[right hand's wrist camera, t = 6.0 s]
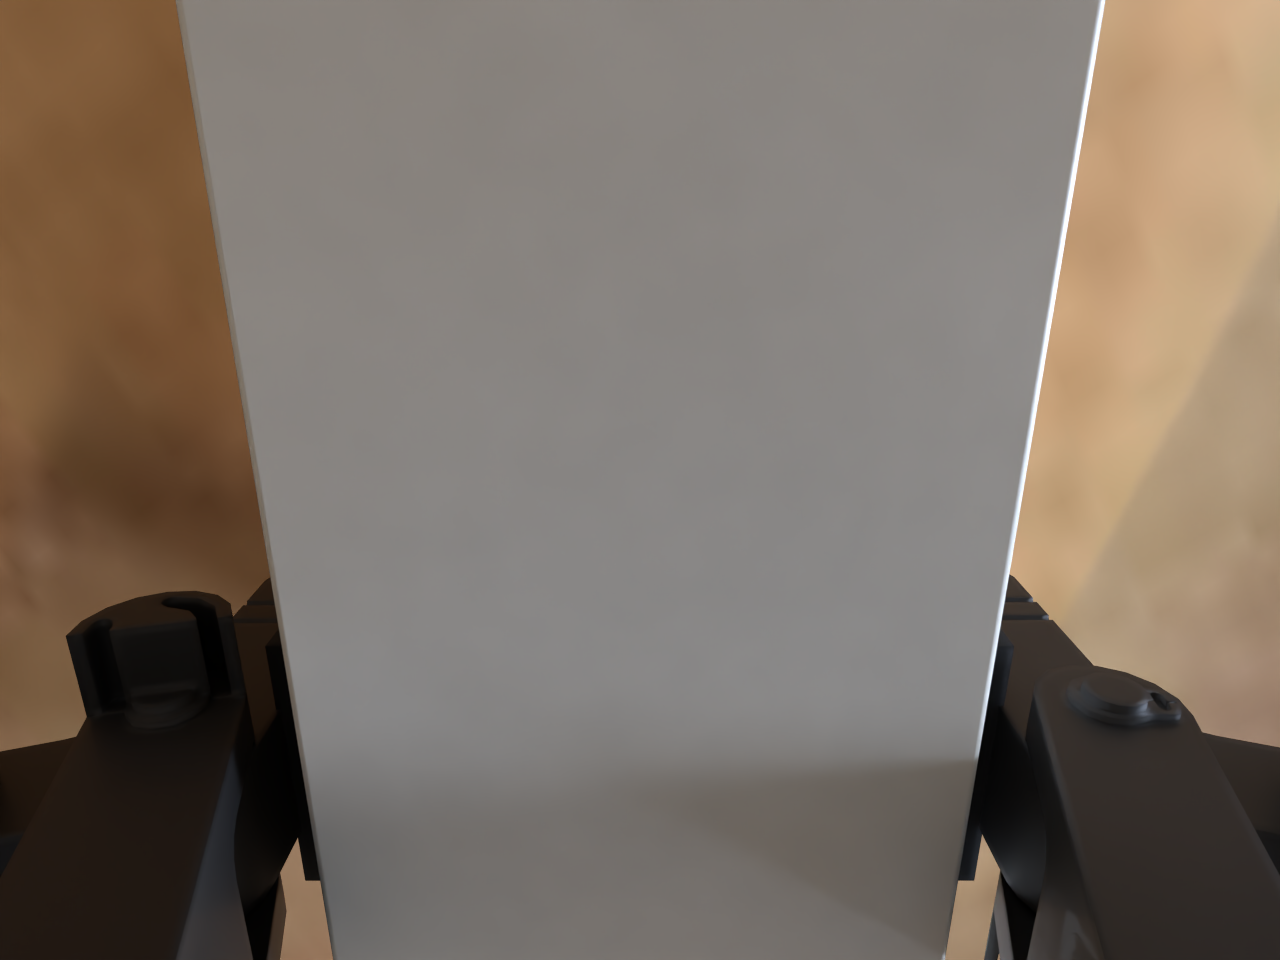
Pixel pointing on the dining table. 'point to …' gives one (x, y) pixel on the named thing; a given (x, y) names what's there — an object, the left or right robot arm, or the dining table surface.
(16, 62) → the dining table surface
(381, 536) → the bar
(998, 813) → the right robot arm
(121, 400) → the dining table surface
